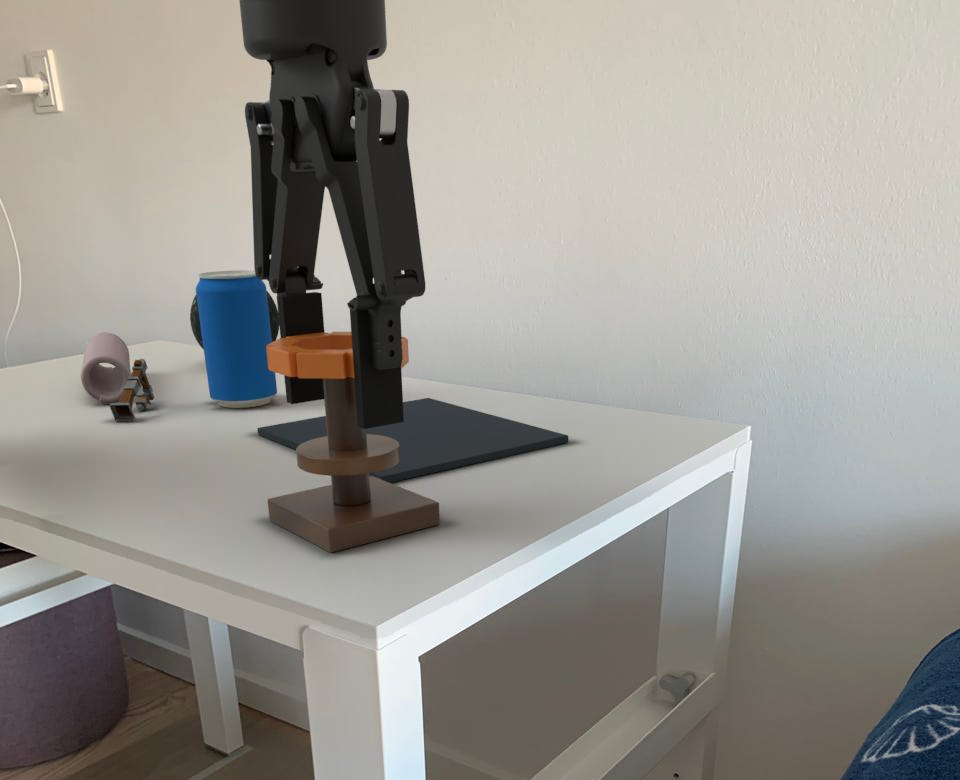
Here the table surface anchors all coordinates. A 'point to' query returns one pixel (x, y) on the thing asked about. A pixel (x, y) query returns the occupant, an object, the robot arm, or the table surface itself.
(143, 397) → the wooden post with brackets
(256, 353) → the beverage can
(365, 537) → the stand
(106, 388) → the pink tube
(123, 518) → the table surface
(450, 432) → the mat
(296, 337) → the ring
